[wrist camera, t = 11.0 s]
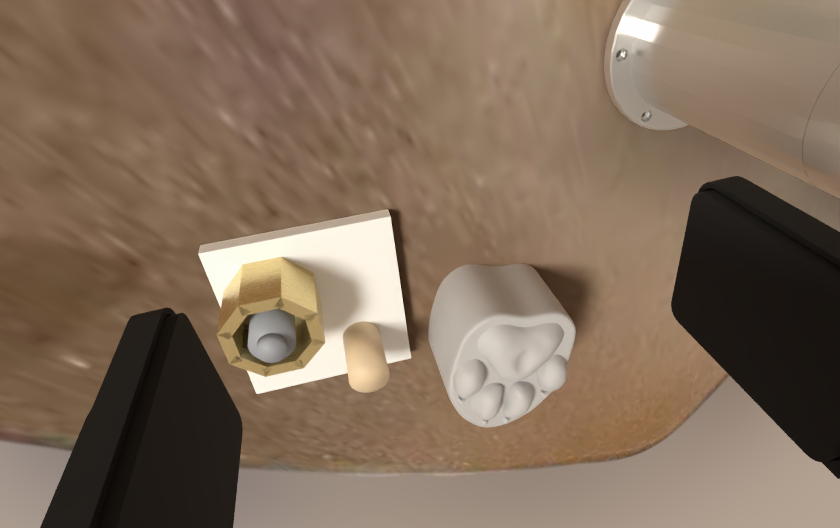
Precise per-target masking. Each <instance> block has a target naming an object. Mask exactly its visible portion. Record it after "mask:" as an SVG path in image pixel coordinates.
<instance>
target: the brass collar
mask: <svg viewBox="0 0 840 528" xmlns="http://www.w3.org/2000/svg"><path fill="white" fill-rule="evenodd" d="M274 309H281V310H284V311H286V312H288V313H290V314H293V315H295V330H296V346H295V349H294V351H293V352H292V353H291V354H290V355H289V356H287V357H286V358H284V359H282V360H281V361H278V362H275V363H267V362H264V361H262V360H260V359H258V358H256V357H255V356H253V355H252V354H251V352H250V351H249V349H248V334H249V322H250V314H255V313H260V312H265V311H269V310H274ZM217 337H218V339H219V341H220V344H221V346H222V348H223V350H224V353H225V355H226V357H227V359H228V362H229V364H231V365H233V366H236V367H239V368H242V369H245V370H248V371H250V372H253V373H256V374H259V375H262V376H264V377H267V376H272V375H276V374H281V373H285V372H289V371H294V370H298V369H302V368H305V366H306V365H307V364H308V363H309V362H310V360H311V359H312V358H313V357H314V356H315V354H316V353H317V352H318V351H319V350H320V349H321V347H322V346H323V345H324V344H325V334H324V325H323V315H322V306H321V299H320V295H319V292H318V288H317V284H316V280H315V277H314V273H313V272H311V271H309V270H307V269H305V268H303V267H301V266H299V265H297V264H295V263H293V262H291V261H289V260H287V259H285V258H283V257H277V258H272V259H267V260H262V261H257V262H252V263H247V264H242V266H241V267H240V269H239V270H238V272H237V273H236V274H235V276H234V277H233V279H232V280H231V281H230V283H229V284H228V286H227V287H226V288H225V290H224V291H223V297H222V304H221V310H220V317H219V323H218V330H217Z"/></svg>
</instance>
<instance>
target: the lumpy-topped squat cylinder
mask: <svg viewBox="0 0 840 528" xmlns="http://www.w3.org/2000/svg"><path fill="white" fill-rule="evenodd" d="M575 335H576V328H575V325H574V323H573V321H572V319H571V318H570V316H569V315H568V314H567V312H566V311H565V310H564V308H563V307H562V305H561V304H560V302H559V301H558V300H557V298H556V297H555V296H554V294H553V293H552V292H551V290H550V289H549V287H548V286H547V285H546V283H545V282H544V281H543V279H542V278H541V277H540V275H539V274H538V273H537V271H536V270H535V269H534V268H533V267H532V266H530V265H527V264H512V265H505V266H487V265H480V264H468V265H464V266H461V267H459V268H457V269H455V270H454V271H452V272H451V273H450V274H449V275H448V276H447V277H446V278H445V279H444V280H443V282H442V283H441V285H440V287H439V289H438V291H437V294H436V297H435V301H434V304H433V307H432V311H431V316H430V322H429V330H428V338H429V342H430V345H431V348H432V351H433V354H434V356H435V359H436V362H437V365H438V368H439V370H440V373H441V376H442V379H443V382H444V385H445V388H446V390H447V393H448V395H449V398H450V400H451V402H452V404H453V405H454V407H455V408H456V410H457V411H458V413H459V414H460V415H461V416H462V417H463V418H464V419H466V420H467V421H469V422H471V423H473V424H475V425H478V426H481V427H495V426H500V425H503V424H506V423H509V422H511V421H514V420H516V419H518V418H519V417H521V416H523V415H525V414H527V413H528V412H530V411H531V410H532V409H534V408H535V407H536V406H537V405H538V404H540V403H541V402H542V401H543V400H544V399H545V398H546V397H547V396H548V395H549V394H550V393H551V392H552V391H554V390H557V389H559V388H560V387H561V386H562V385H563V384H564V382H565V380H566V377H567V363H568V360H569V358H570V354H571V350H572V348H573V344H574V340H575Z"/></svg>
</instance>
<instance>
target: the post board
mask: <svg viewBox="0 0 840 528" xmlns="http://www.w3.org/2000/svg"><path fill="white" fill-rule="evenodd" d="M198 255H199V257H200V259H201V262H202V264H203V267H204V269H205V271H206V274H207V276H208V278H209V281H210V283H211V286H212V288H213V290H214V293H215V295H216V298H217V300H218V302H219V305H220V307H221V304H222V297H223V291H224V290H225V288H226V287H227V286H228V284H229V283H230V281H231V280H232V279H233V277H234V276H235V274H236V273H237V272H238V270H239V269H240V267H241V266H242V264H247V263H252V262H257V261H262V260H267V259H272V258H277V257H283V258H285V259H287V260H289V261H291V262H293V263H295V264H297V265H299V266H301V267H303V268H305V269H307V270H309V271H311V272H313V273H314V277H315V280H316V284H317V288H318V292H319V295H320V299H321V306H322V315H323V325H324V334H325V344H324V345H323V346H322V347H321V349H320V350H319V351H318V352H317V353H316V354H315V356H314V357H313V358H312V359H311V360H310V362H309V363H308V364H307V365H306V366H305V368H302V369H298V370H294V371H289V372H285V373H281V374H276V375H272V376H267V377H264V376H262V375H259V374H256V373H253V372H250V371H248V370H247V372H248V374H249V377H250V379H251V381H252V384H253V386H254V389H255V391H256V393H257V394H259V393H264V392H268V391H272V390H276V389H281V388H285V387H289V386H294V385H298V384H302V383H306V382H311V381H315V380H319V379H324V378H328V377H332V376H336V375H341V374H345V373H348V377H349V383H350V385H351V387H352V388H353V389H355V390H356V391H359V392H373V391H376V390H379V389H380V388H382V387H383V386H384V385H385V384H386V383H387V382H388V380H389V377H390V373H389V369H388V365H387V364H388V363H392V362H396V361H401V360H405V359H409V358H411V354H410V347H409V340H408V333H407V326H406V319H405V312H404V305H403V298H402V292H401V285H400V278H399V271H398V264H397V257H396V250H395V243H394V236H393V229H392V223H391V216H390V213H389V211H388V209H386V210H380V211H375V212H370V213H365V214H360V215H354V216H349V217H344V218H339V219H334V220H328V221H323V222H318V223H313V224H308V225H302V226H297V227H292V228H287V229H282V230H276V231H271V232H266V233H261V234H256V235H251V236H245V237H240V238H235V239H230V240H225V241H219V242H214V243H209V244H204V245H200V249H199V253H198ZM295 346H296V330H295V315H293V314H290V313H288V312H286V311H284V310H281V309H274V310H269V311H265V312H260V313H255V314H250V322H249V334H248V349H249V351H250V352H251V354H252V355H253V356H255V357H256V358H258V359H260V360H262V361H264V362H267V363H275V362H278V361H281V360H282V359H284V358H286V357H287V356H289V355H290V354H291V353H292V352H293V351H294V349H295Z"/></svg>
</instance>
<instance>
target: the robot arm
mask: <svg viewBox="0 0 840 528" xmlns="http://www.w3.org/2000/svg"><path fill="white" fill-rule="evenodd" d="M604 76H605V81H606V86H607V91H608V93H609V95H610V97H611V100H612V102H613V104H614V105H615V106H616V108H617V109H618V110H619V111H620V113H621V114H623V115H624V116H625V117H626V118H628V119H629V120H630V121H632V122H634V123H636V124H638V125H639V126H642V127H645V128H649V129H652V130H673V129H678V128H683V127H686V126H688V125H691V126H693V127H695V128H697V129H699V130H701V131H703V132H705V133H707V134H709V135H711V136H713V137H715V138H717V139H719V140H721V141H723V142H725V143H727V144H729V145H731V146H733V147H735V148H737V149H739V150H741V151H743V152H745V153H747V154H749V155H751V156H753V157H755V158H757V159H759V160H761V161H763V162H765V163H767V164H770V165H772V166H774V167H776V168H778V169H780V170H782V171H784V172H786V173H788V174H790V175H792V176H794V177H796V178H798V179H800V180H802V181H804V182H806V183H808V184H810V185H812V186H814V187H816V188H818V189H821V190H823V191H825V192H827V193H829V194H831V195H833V196H835V197H837V198H839V199H840V0H623V1H622V3H621V5H620V7H619V9H618V12H617V14H616V16H615V18H614V20H613V22H612V26H611V29H610V32H609V35H608V38H607V43H606V49H605V56H604ZM671 307H672V312H673V315H674V317H675V318H676V320H677V321H678V322H679V323H680V324H681V325H682V326H683V327H684V328H685V329H686V331H687V332H688V333H689V334H690V335H691V336H692V337H693V338H694V339H695V340H696V341H697V342H698V343H699V344H700V345H701V346H702V347H703V348H704V349H705V350H706V351H707V352H708V353H709V354H710V355H711V356H712V357H713V358H714V359H715V361H716V362H717V363H718V364H719V365H720V366H721V367H722V368H723V369H724V370H725V371H726V372H727V373H728V374H729V375H730V376H731V377H732V378H733V379H734V380H735V381H736V382H737V383H738V384H739V385H740V386H741V387H742V388H743V389H744V391H745V392H746V393H747V394H748V395H749V396H750V397H751V398H752V399H753V400H754V401H755V402H756V403H758V405H759V406H760V407H761V408H762V409H763V410H764V411H765V412H766V413H767V414H768V415H769V416H770V417H771V418H772V419H773V420H774V421H775V423H776V424H777V425H778V426H779V427H780V428H781V429H782V430H783V431H784V432H785V433H786V434H787V435H788V436H789V437H790V438H791V439H792V440H793V441H794V442H795V443H796V444H797V445H798V446H799V447H800V448H801V449H802V450H803V452H804V453H806V454H807V455H808V456H809V457H810V458H812V459H813V460H815V461H818V462H822V463H823V464H824V465H825V466H826V467H827V468H828V469H829V470H830V471H831V472H832V473H833V474H834V475H835V476H836V477H837V478H838V479H839V478H840V232H838V231H837V230H835V229H833V228H831V227H830V226H828V225H826V224H824V223H822V222H821V221H819V220H817V219H815V218H814V217H812V216H810V215H808V214H807V213H805V212H803V211H801V210H799V209H798V208H796V207H794V206H792V205H791V204H789V203H787V202H785V201H783V200H782V199H780V198H778V197H776V196H775V195H773V194H771V193H769V192H768V191H766V190H764V189H762V188H760V187H759V186H757V185H755V184H753V183H752V182H750V181H748V180H746V179H745V178H742V177H739V176H734V177H729V178H725V179H721V180H716V181H712V182H708V183H705V184H704V185H702V187H701V188H700V189H699V192H698V193H697V194H695V195H694V197H693V199H692V201H691V206H690V211H689V216H688V222H687V227H686V232H685V237H684V242H683V247H682V252H681V257H680V262H679V267H678V272H677V277H676V282H675V287H674V292H673V297H672V302H671ZM241 442H242V421H241V417H240V414H239V412H238V410H237V408H236V406H235V404H234V402H233V401H232V399H231V397H230V395H229V393H228V391H227V389H226V388H225V386H224V384H223V382H222V380H221V378H220V376H219V375H218V373H217V371H216V369H215V367H214V365H213V363H212V362H211V360H210V358H209V356H208V354H207V352H206V350H205V348H204V347H203V345H202V343H201V341H200V339H199V337H198V335H197V334H196V332H195V330H194V328H193V326H192V324H191V322H190V321H189V319H188V317H187V316H186V315H185V314H184V313H179V314H175V312H174V311H173V310H172V309H170V308H163V309H159V310H155V311H150V312H146V313H142V314H137V315H134V316H132V317H131V318H130V319H129V321H128V323H127V325H126V328H125V330H124V333H123V335H122V337H121V340H120V342H119V345H118V347H117V350H116V352H115V354H114V357H113V359H112V362H111V364H110V366H109V369H108V371H107V374H106V376H105V378H104V381H103V383H102V386H101V388H100V390H99V393H98V395H97V398H96V400H95V402H94V405H93V407H92V409H91V411H90V413H89V414H88V416H87V418H86V420H85V422H84V425H83V427H82V429H81V432H80V434H79V437H78V439H77V441H76V444H75V446H74V448H73V451H72V453H71V456H70V458H69V461H68V463H67V465H66V468H65V470H64V472H63V475H62V477H61V480H60V482H59V484H58V487H57V489H56V491H55V494H54V496H53V499H52V501H51V503H50V506H49V508H48V510H47V513H46V515H45V518H44V520H43V523H42V525H41V527H40V528H233V522H234V512H235V502H236V492H237V482H238V472H239V462H240V452H241Z"/></svg>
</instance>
